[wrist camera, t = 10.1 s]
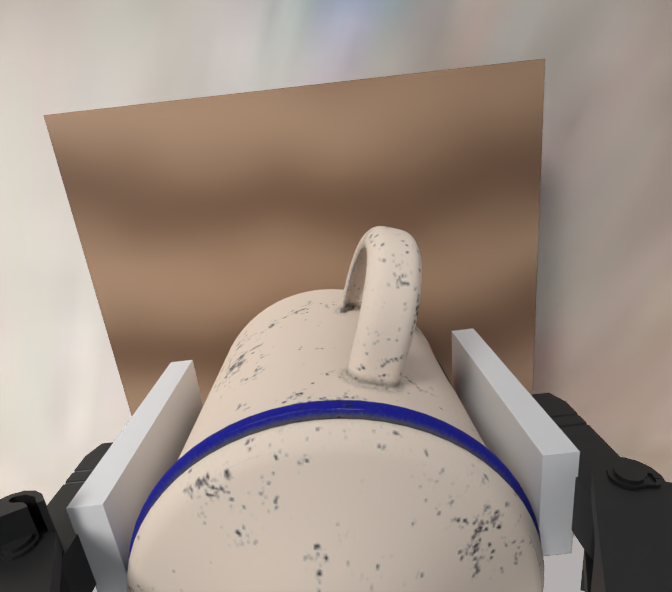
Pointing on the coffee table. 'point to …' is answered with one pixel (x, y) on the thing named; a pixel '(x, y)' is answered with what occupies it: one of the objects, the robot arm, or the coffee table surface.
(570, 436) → the robot arm
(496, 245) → the walnut stand
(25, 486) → the coffee table surface
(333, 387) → the teacup with lid
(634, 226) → the coffee table surface
